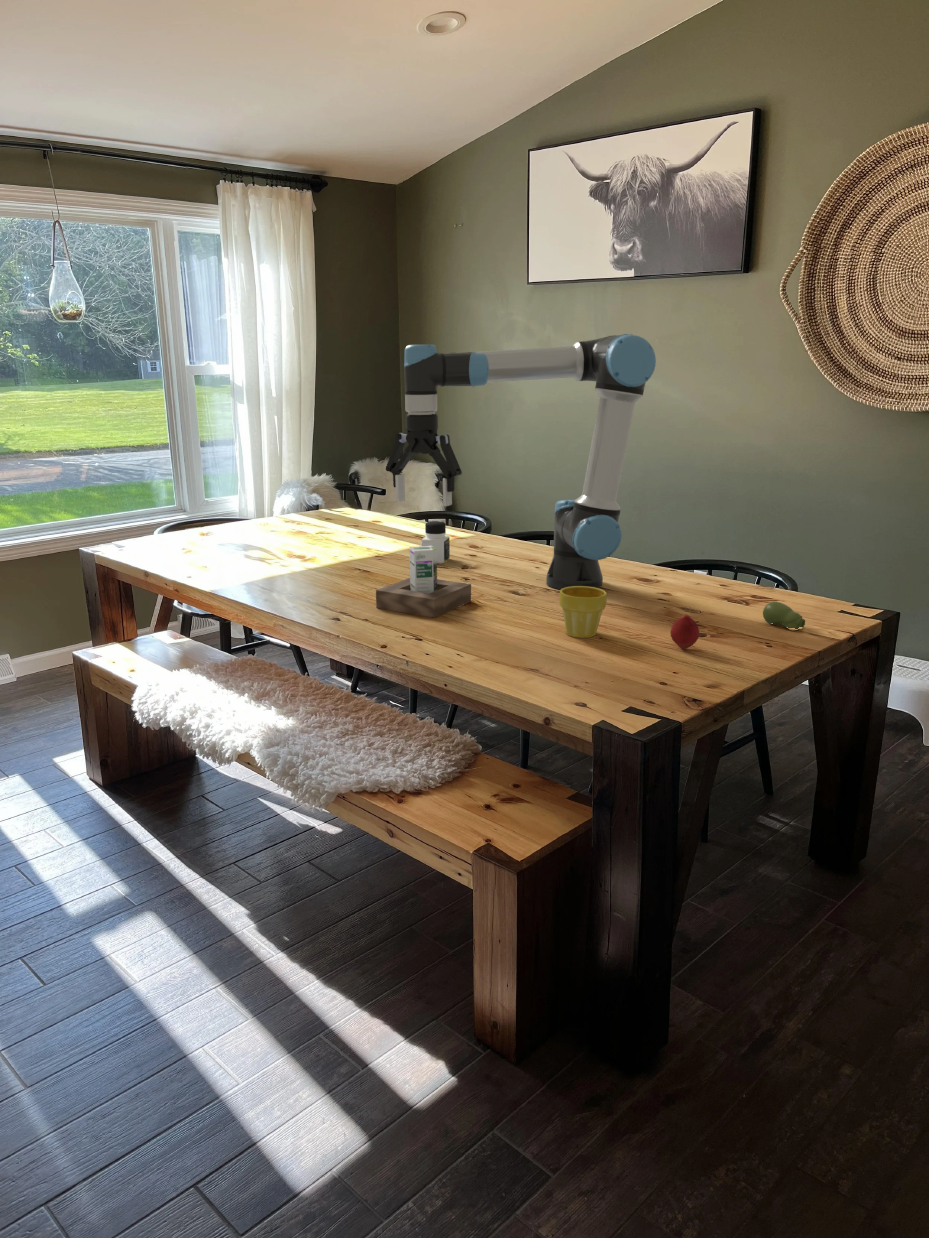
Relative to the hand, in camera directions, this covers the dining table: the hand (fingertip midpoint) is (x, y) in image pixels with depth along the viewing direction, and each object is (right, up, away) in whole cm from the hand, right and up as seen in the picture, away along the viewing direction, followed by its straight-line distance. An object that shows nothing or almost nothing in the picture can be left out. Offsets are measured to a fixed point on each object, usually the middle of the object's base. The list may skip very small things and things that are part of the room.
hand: (423, 503), depth 215 cm
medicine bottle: (+1, -10, +55) cm, 56 cm away
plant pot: (+36, -31, -16) cm, 50 cm away
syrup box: (0, -24, +7) cm, 26 cm away
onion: (+56, -34, -27) cm, 71 cm away
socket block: (0, -24, +7) cm, 25 cm away
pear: (+83, -30, -11) cm, 89 cm away
